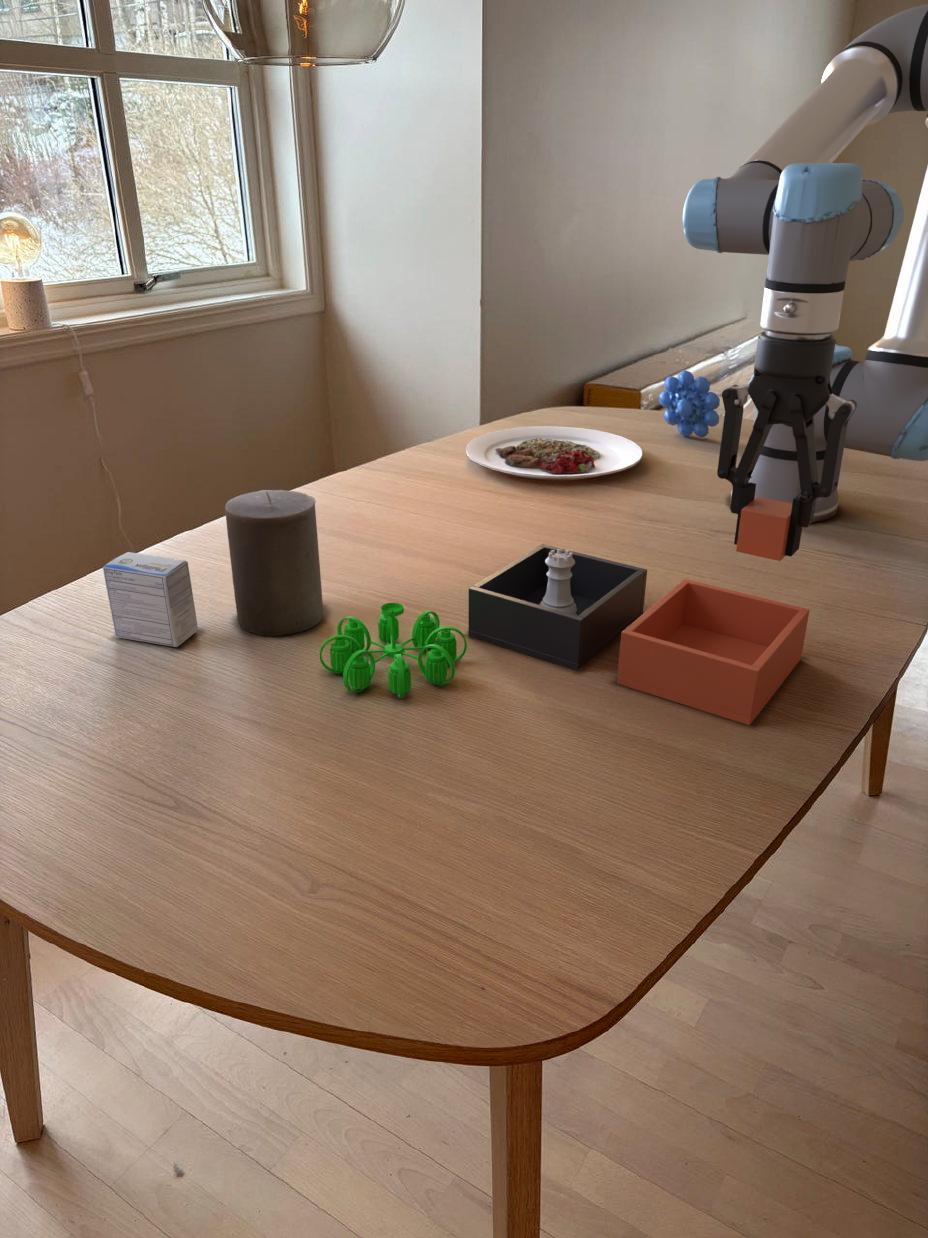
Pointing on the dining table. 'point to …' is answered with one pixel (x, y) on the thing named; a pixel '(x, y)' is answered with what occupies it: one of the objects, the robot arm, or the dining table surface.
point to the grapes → (689, 404)
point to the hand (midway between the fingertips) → (766, 546)
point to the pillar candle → (275, 561)
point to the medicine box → (151, 598)
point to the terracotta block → (764, 528)
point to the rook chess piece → (559, 582)
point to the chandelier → (393, 650)
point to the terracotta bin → (713, 649)
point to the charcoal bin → (522, 625)
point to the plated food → (554, 452)
